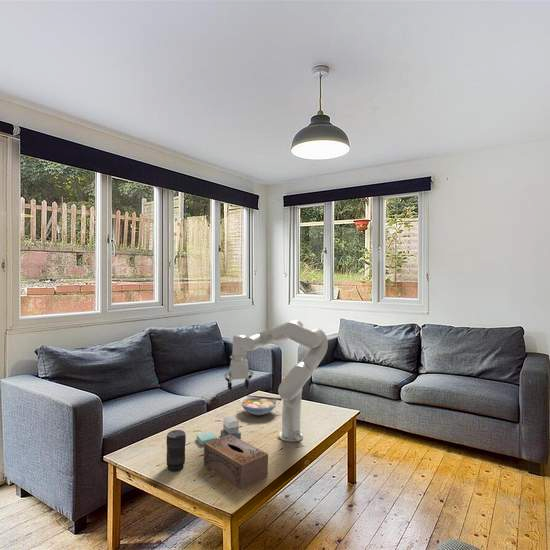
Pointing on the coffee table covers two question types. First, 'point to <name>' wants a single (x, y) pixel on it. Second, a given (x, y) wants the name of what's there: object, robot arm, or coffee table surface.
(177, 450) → the camera lens
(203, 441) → the stand
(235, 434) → the stand
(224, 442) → the tissue box cover
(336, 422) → the coffee table surface
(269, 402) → the ramen bowl
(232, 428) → the block
